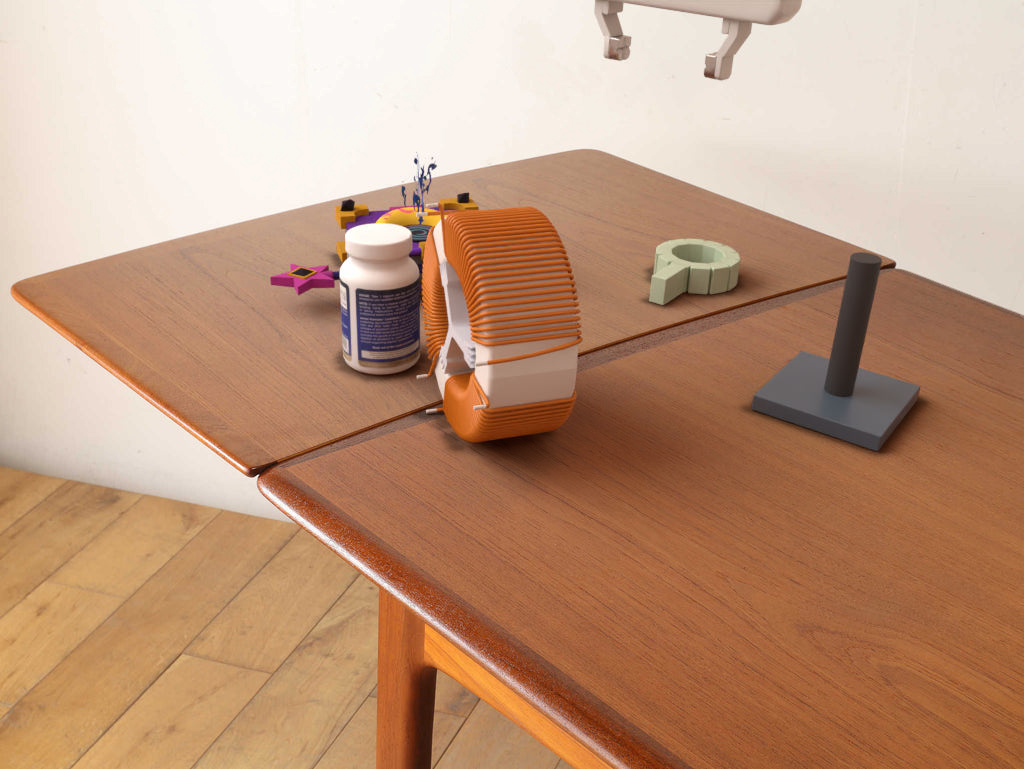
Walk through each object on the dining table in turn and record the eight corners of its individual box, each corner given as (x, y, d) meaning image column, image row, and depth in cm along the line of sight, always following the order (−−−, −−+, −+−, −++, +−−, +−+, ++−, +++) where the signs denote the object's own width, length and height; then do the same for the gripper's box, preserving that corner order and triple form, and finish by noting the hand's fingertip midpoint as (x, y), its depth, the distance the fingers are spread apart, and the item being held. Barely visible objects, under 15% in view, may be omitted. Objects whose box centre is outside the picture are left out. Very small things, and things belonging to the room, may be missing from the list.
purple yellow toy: (571, 294, 91) (581, 154, 85) (276, 322, 83) (265, 171, 78) (517, 235, 103) (523, 110, 97) (256, 256, 95) (245, 121, 90)
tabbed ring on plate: (749, 276, 96) (753, 251, 95) (695, 315, 88) (698, 288, 87) (676, 256, 99) (679, 232, 98) (618, 292, 91) (620, 266, 90)
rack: (917, 400, 76) (954, 255, 71) (877, 452, 69) (914, 296, 64) (798, 364, 80) (825, 224, 75) (750, 409, 74) (776, 260, 68)
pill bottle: (435, 355, 79) (435, 230, 75) (388, 385, 75) (385, 253, 70) (375, 336, 82) (372, 213, 77) (326, 363, 78) (320, 235, 73)
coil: (500, 370, 78) (507, 174, 70) (578, 478, 65) (597, 253, 58) (409, 382, 75) (407, 180, 68) (472, 496, 63) (478, 265, 56)
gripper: (835, -115, 74) (802, 84, 81) (598, -132, 85) (586, 44, 92) (795, -114, 70) (763, 97, 76) (550, -132, 81) (541, 53, 87)
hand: (665, 68), depth 84 cm, fingers open, 8 cm apart
